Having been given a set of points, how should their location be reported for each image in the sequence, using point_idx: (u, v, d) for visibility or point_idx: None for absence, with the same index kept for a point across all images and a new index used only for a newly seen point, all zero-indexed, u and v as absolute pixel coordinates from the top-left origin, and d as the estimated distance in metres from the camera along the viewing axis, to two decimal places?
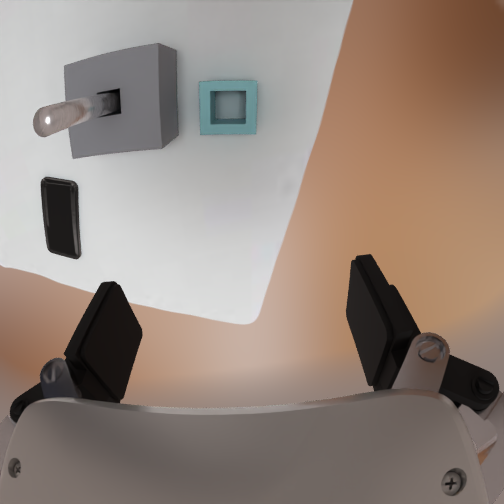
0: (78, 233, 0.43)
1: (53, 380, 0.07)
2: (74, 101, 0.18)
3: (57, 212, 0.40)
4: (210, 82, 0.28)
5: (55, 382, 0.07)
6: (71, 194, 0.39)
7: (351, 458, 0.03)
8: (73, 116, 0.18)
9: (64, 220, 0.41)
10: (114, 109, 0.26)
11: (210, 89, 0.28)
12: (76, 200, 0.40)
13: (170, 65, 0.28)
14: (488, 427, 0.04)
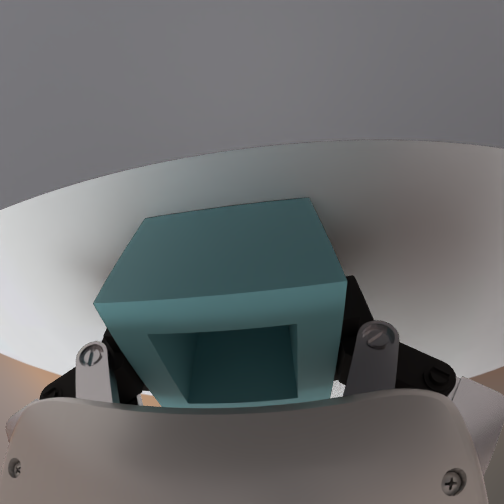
0: None
1: (89, 364, 0.07)
2: None
3: None
4: (336, 320, 0.07)
5: (91, 367, 0.07)
6: None
7: (351, 458, 0.03)
8: None
9: None
10: None
11: (304, 324, 0.07)
12: None
13: None
14: None
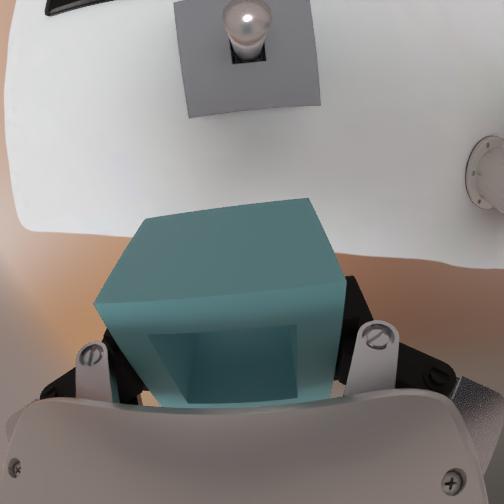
0: (75, 8, 0.20)
1: (89, 364, 0.07)
2: (264, 37, 0.14)
3: None
4: (336, 320, 0.07)
5: (91, 367, 0.07)
6: None
7: (351, 458, 0.03)
8: (244, 44, 0.13)
9: None
10: (238, 56, 0.21)
11: (304, 324, 0.07)
12: None
13: None
14: None
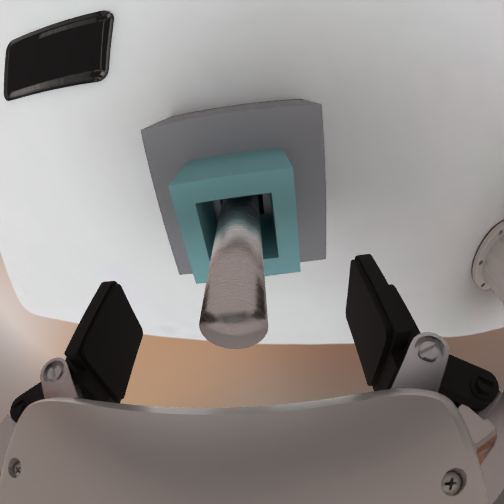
0: (35, 93, 0.20)
1: (53, 380, 0.07)
2: None
3: (59, 50, 0.18)
4: (291, 191, 0.15)
5: (55, 382, 0.07)
6: (87, 72, 0.20)
7: (351, 458, 0.03)
8: None
9: (49, 65, 0.19)
10: None
11: (275, 193, 0.15)
12: (80, 83, 0.21)
13: None
14: (488, 427, 0.04)
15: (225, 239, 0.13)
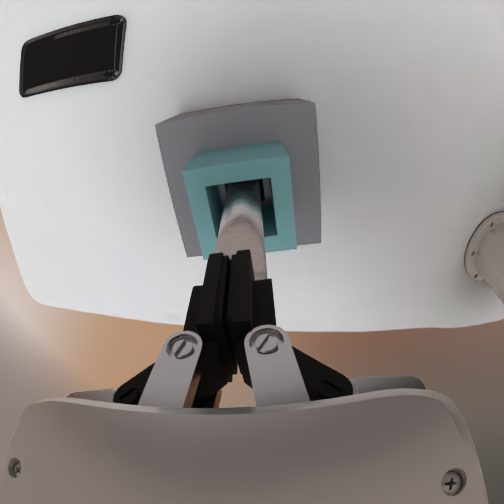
0: (51, 90, 0.23)
1: (176, 355, 0.07)
2: None
3: (74, 51, 0.21)
4: (288, 176, 0.17)
5: (176, 359, 0.07)
6: (102, 72, 0.22)
7: (351, 458, 0.03)
8: None
9: (65, 65, 0.21)
10: None
11: (274, 177, 0.17)
12: (94, 82, 0.23)
13: None
14: None
15: (232, 213, 0.15)
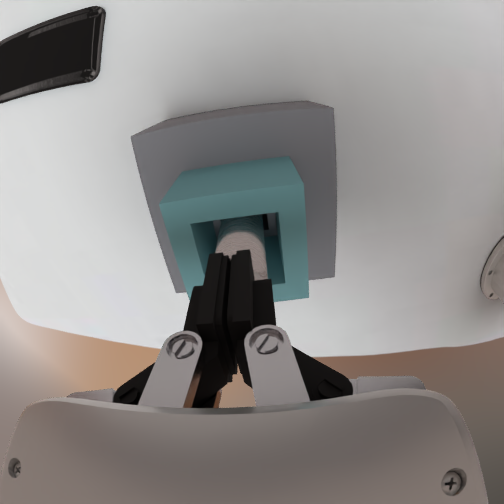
0: (24, 95, 0.18)
1: (176, 355, 0.07)
2: None
3: (48, 49, 0.16)
4: (301, 210, 0.13)
5: (176, 359, 0.07)
6: (78, 72, 0.18)
7: (351, 458, 0.03)
8: None
9: (38, 66, 0.17)
10: None
11: (283, 212, 0.13)
12: (70, 84, 0.19)
13: None
14: None
15: None
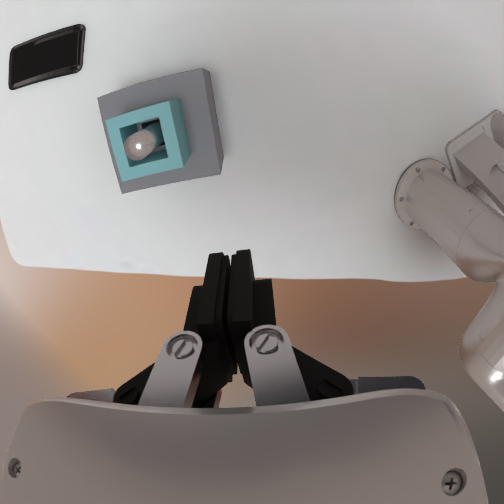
0: (32, 83, 0.27)
1: (176, 355, 0.07)
2: (159, 142, 0.26)
3: (49, 52, 0.25)
4: (169, 114, 0.22)
5: (176, 359, 0.07)
6: (68, 67, 0.27)
7: (351, 458, 0.03)
8: None
9: (42, 63, 0.26)
10: None
11: (161, 116, 0.22)
12: (63, 75, 0.28)
13: None
14: None
15: None
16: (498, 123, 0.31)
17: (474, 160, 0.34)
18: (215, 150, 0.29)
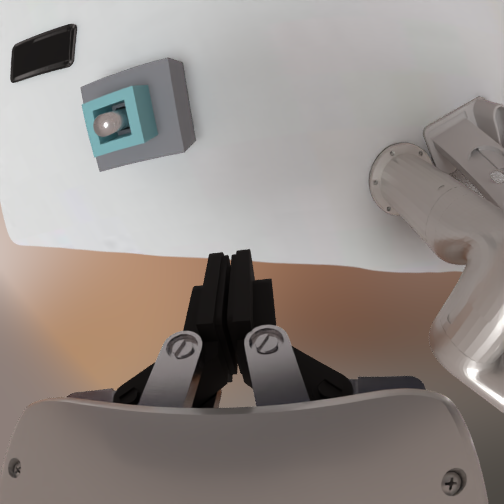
0: None
1: (176, 355, 0.07)
2: (127, 123, 0.27)
3: (45, 49, 0.28)
4: (133, 97, 0.24)
5: (176, 359, 0.07)
6: (62, 62, 0.30)
7: (351, 458, 0.03)
8: None
9: (39, 59, 0.28)
10: None
11: (125, 99, 0.24)
12: (57, 69, 0.30)
13: None
14: None
15: None
16: (481, 108, 0.31)
17: (453, 144, 0.35)
18: (179, 130, 0.31)
